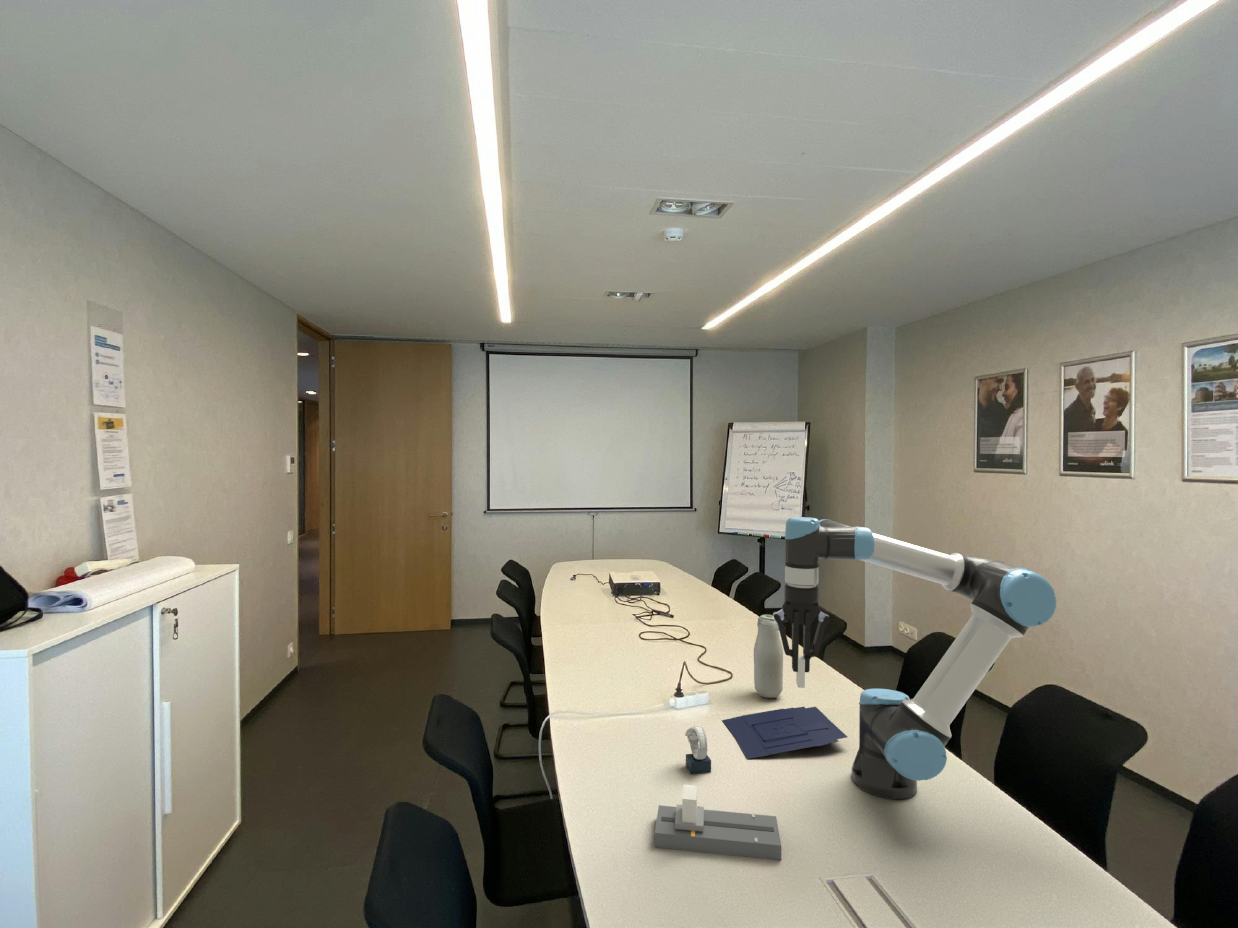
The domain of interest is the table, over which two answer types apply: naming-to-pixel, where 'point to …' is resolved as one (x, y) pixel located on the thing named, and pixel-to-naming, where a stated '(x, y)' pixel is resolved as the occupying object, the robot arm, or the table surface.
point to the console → (722, 834)
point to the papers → (782, 730)
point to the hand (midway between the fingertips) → (800, 685)
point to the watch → (697, 751)
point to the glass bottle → (768, 658)
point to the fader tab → (689, 811)
